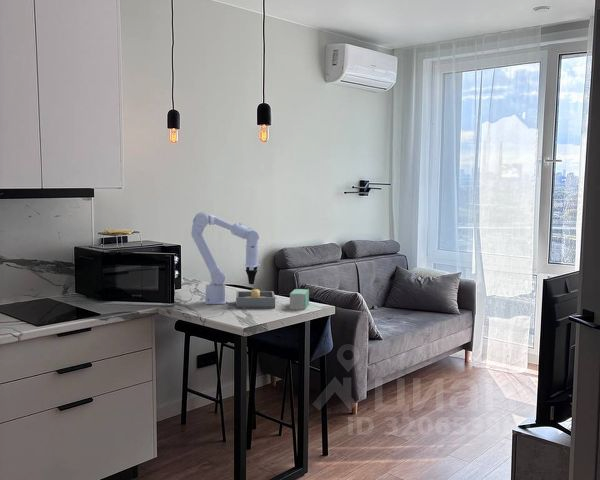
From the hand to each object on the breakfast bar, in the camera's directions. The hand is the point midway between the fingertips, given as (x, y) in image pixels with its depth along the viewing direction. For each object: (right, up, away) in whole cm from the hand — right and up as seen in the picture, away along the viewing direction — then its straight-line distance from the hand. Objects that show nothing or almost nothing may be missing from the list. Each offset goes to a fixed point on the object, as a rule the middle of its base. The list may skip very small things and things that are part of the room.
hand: (251, 282), depth 293 cm
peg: (+2, -9, -6) cm, 11 cm away
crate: (+2, -10, -5) cm, 12 cm away
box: (+23, -11, -7) cm, 27 cm away
